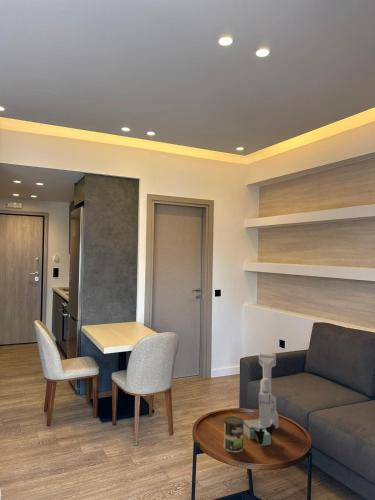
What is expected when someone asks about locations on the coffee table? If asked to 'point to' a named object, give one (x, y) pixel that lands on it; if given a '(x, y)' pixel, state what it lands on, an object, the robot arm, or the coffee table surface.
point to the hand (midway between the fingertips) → (264, 441)
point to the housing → (250, 427)
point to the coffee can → (233, 434)
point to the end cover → (265, 438)
